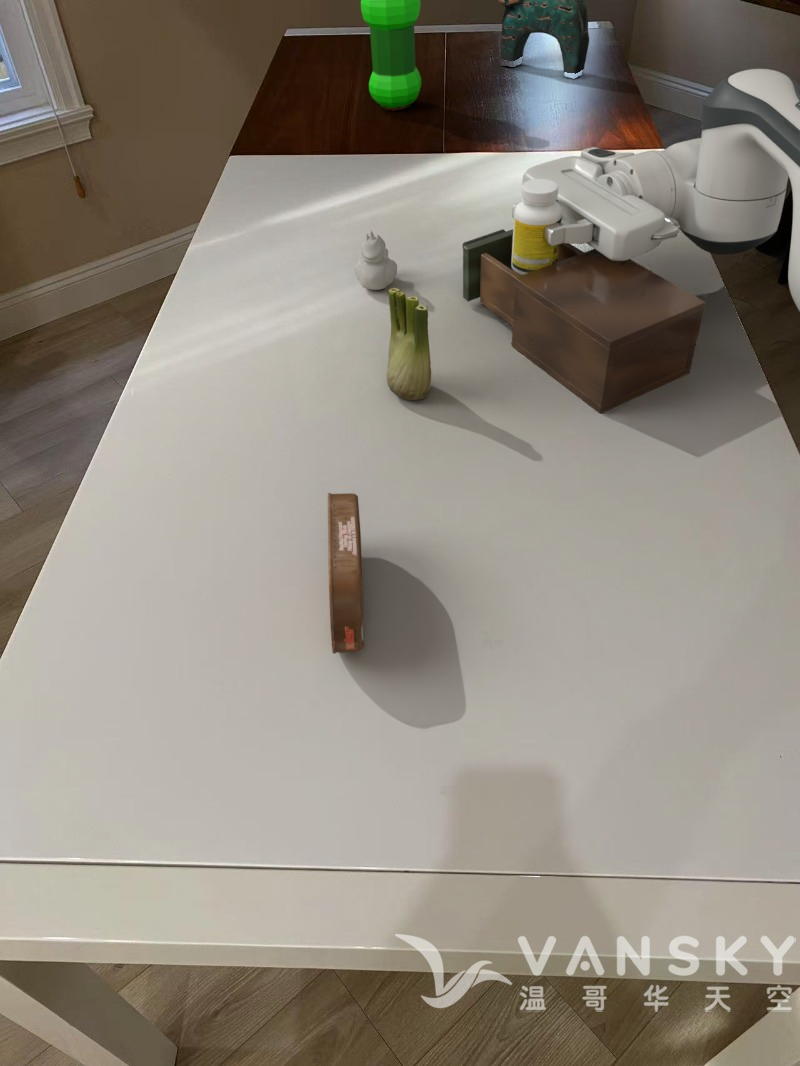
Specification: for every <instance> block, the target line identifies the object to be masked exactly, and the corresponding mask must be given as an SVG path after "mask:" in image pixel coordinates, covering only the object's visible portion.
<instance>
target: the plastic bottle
mask: <svg viewBox="0 0 800 1066" xmlns="http://www.w3.org/2000/svg"><path fill="white" fill-rule="evenodd" d="M421 1H422V0H360V12H361V15H362V19H363V21H364V22H365V23H366V24H367V25H368V26H369V33H370V49H371V50H370V51H371V62H372V63H371V64H372V72H371V74H370V78H369V81H368V90H369V94H370V96H371V98H372V99H373V100H374V101H375V103H377V104H378V105H379V104H380V105H379V106H381V107H382V106H383V107H386V108H397V107H404V106H407V105H409V104H411V103H412V104H413V103H414V102H415V101H416V100H417V99H418V97H419V94H420V92H421V88H422V77H421V74H420V71H419V70H418V68H417V66H416V64H417V63H416V39H415V37H416V36H415V22H416V21H417V20H418V18H419V15H420V14H421V13H420V12H421V6H422V3H421ZM412 104H411V105H412Z"/></svg>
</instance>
